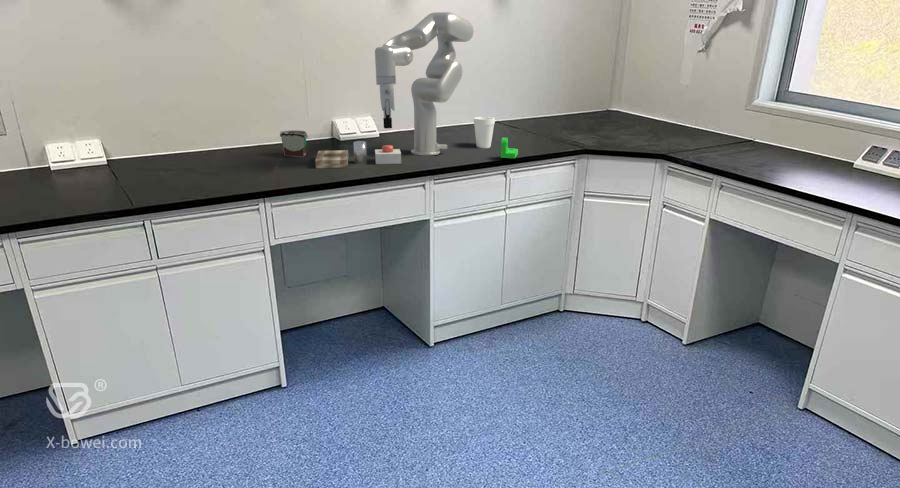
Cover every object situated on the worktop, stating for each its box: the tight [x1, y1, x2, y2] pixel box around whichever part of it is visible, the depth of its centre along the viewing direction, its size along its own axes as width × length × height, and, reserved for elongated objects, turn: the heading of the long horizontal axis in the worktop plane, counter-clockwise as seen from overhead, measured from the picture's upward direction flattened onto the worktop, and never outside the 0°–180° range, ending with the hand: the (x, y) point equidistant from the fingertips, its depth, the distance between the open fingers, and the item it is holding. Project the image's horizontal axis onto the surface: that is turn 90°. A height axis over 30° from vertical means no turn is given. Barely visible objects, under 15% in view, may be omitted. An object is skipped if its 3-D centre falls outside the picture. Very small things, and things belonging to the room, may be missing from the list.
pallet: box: [314, 149, 349, 169], centre depth 239 cm, size 12×20×3 cm, turn 8°
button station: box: [374, 148, 402, 165], centre depth 242 cm, size 10×10×4 cm
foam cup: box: [473, 116, 496, 149], centre depth 274 cm, size 10×9×13 cm
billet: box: [353, 140, 368, 164], centre depth 240 cm, size 5×5×8 cm
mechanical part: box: [500, 137, 519, 159], centre depth 257 cm, size 12×6×8 cm, turn 166°
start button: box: [381, 144, 394, 152], centre depth 241 cm, size 4×4×2 cm
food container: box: [279, 130, 308, 158], centre depth 252 cm, size 12×6×10 cm, turn 71°
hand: (387, 128), depth 239 cm, fingers closed
